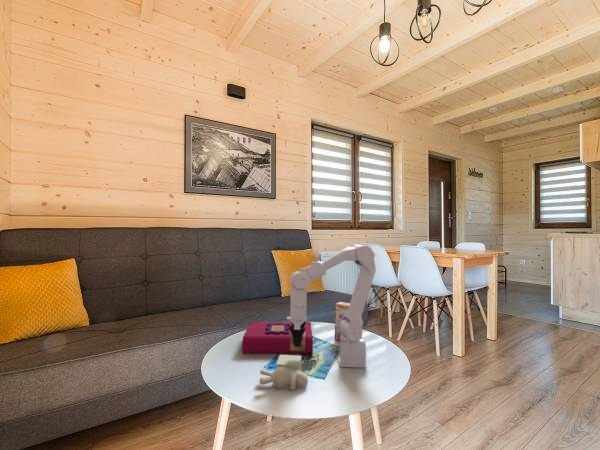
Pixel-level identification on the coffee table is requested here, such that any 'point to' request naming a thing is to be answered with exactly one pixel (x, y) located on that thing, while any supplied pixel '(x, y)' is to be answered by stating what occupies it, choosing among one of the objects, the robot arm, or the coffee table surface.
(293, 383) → the bunny figurine
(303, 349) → the walnut cube
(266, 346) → the book
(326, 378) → the coffee table surface
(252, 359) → the coffee table surface
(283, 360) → the sage block
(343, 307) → the candy bar box
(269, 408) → the coffee table surface
